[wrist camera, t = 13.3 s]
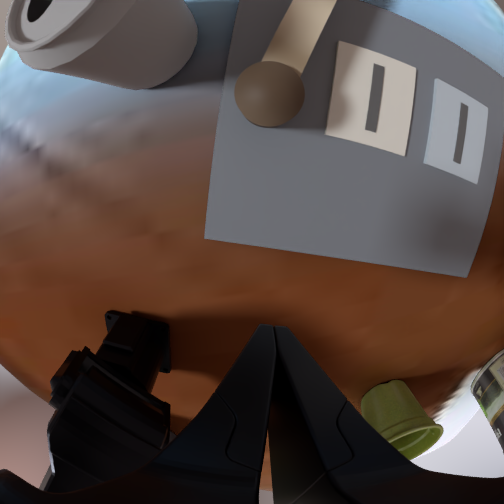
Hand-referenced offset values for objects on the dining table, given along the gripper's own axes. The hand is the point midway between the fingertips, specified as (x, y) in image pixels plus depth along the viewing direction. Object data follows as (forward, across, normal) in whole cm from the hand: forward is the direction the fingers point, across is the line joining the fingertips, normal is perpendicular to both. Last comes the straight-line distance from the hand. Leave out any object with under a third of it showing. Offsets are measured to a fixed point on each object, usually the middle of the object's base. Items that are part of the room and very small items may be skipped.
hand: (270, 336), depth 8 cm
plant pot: (+13, -18, +19) cm, 29 cm away
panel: (+13, -8, -8) cm, 17 cm away
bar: (+12, -1, -16) cm, 20 cm away
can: (+13, +10, -12) cm, 20 cm away
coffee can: (+13, -40, +17) cm, 45 cm away
